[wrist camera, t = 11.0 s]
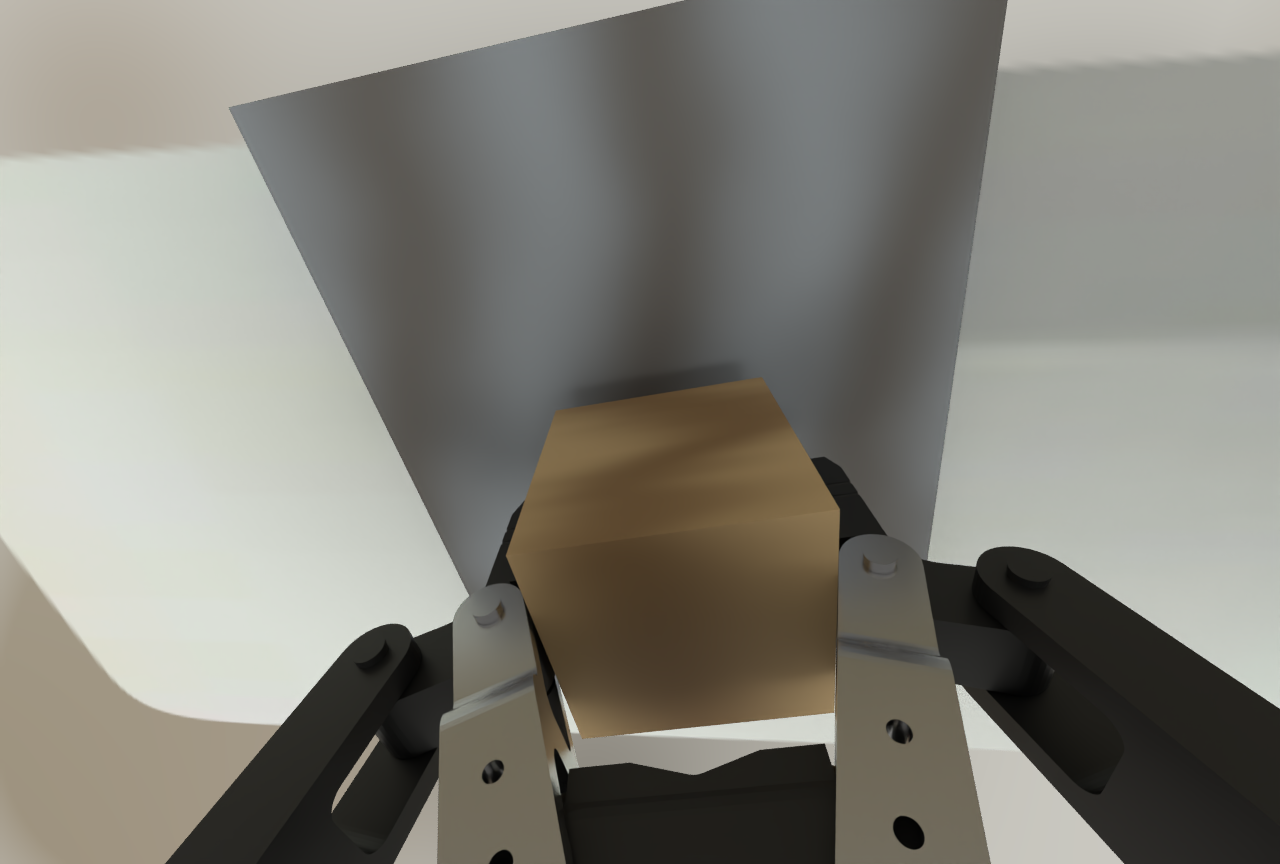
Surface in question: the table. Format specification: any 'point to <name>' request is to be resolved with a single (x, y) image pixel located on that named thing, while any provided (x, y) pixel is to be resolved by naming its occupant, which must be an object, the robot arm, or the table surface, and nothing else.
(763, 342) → the slate board
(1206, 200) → the table surface
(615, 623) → the oak cube
